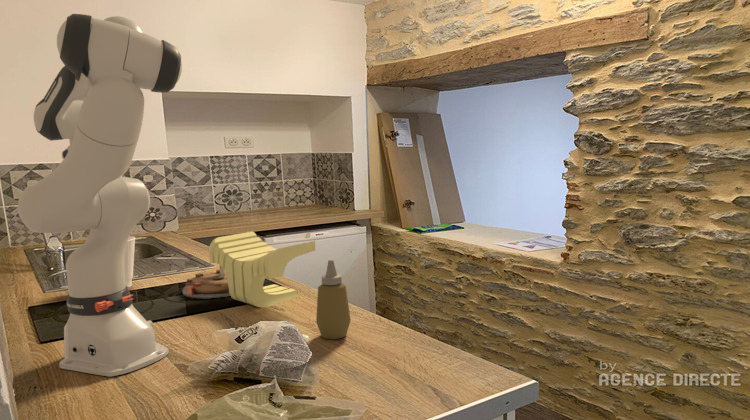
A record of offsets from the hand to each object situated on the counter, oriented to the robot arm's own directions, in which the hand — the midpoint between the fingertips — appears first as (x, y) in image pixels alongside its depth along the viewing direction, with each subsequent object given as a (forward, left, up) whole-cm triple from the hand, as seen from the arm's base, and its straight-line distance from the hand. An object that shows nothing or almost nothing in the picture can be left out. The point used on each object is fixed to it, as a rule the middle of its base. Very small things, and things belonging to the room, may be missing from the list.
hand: (94, 202), depth 141 cm
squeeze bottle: (-70, -14, -31) cm, 78 cm away
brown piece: (-13, -30, -30) cm, 44 cm away
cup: (+20, -17, -31) cm, 41 cm away
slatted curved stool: (-34, -28, -31) cm, 54 cm away
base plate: (-13, -30, -31) cm, 45 cm away
